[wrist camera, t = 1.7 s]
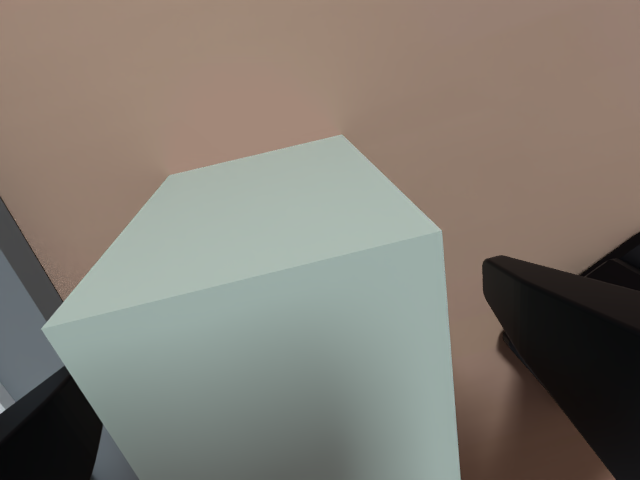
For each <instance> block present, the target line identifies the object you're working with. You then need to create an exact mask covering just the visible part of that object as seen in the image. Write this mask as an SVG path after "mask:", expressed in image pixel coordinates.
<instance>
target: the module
mask: <svg viewBox="0 0 640 480" xmlns="http://www.w3.org/2000/svg"><path fill="white" fill-rule="evenodd" d="M41 330H42V331H43V333H44V334H45V336H46V337H47V339H48V340H49V342H50V343H51V345H52V347H53V348H54V350H55V351H56V353H57V354H58V356H59V357H60V359H61V360H62V362H63V363H64V365H65V366H66V368H67V370H68V371H69V373H70V374H71V376H72V377H73V379H74V380H75V382H76V383H77V385H78V386H79V388H80V389H81V391H82V392H83V394H84V396H85V397H86V399H87V400H88V402H89V403H90V405H91V406H92V408H93V409H94V411H95V412H96V414H97V415H98V417H99V419H100V420H101V422H102V423H103V425H104V426H105V428H106V429H107V431H108V432H109V434H110V435H111V437H112V438H113V440H114V441H115V443H116V445H117V446H118V448H119V449H120V451H121V452H122V454H123V455H124V457H125V458H126V460H127V461H128V463H129V464H130V466H131V468H132V469H133V471H134V472H135V474H136V475H137V477H138V478H139V480H461V477H460V464H459V451H458V437H457V424H456V411H455V398H454V385H453V371H452V358H451V345H450V332H449V319H448V305H447V292H446V279H445V266H444V253H443V239H442V230H441V229H440V228H438V227H437V226H436V225H435V224H434V223H433V222H432V221H431V220H430V219H429V218H428V217H427V216H426V215H425V214H424V213H423V212H422V211H421V210H420V209H419V208H418V207H417V206H416V205H415V204H414V203H413V202H412V201H410V200H409V199H408V198H407V197H406V196H405V195H404V194H403V193H402V192H401V191H400V190H399V189H398V188H397V187H396V186H395V185H394V184H393V183H392V182H391V181H390V180H389V179H388V178H387V177H386V176H385V175H384V174H382V173H381V172H380V171H379V170H378V169H377V168H376V167H375V166H374V165H373V164H372V163H371V162H370V161H369V160H368V159H367V158H366V157H365V156H364V155H363V154H362V153H361V152H360V151H359V150H358V149H357V148H356V147H354V146H353V145H352V144H351V143H350V142H349V141H348V140H347V139H346V138H345V137H344V136H343V135H338V136H334V137H329V138H325V139H321V140H317V141H313V142H308V143H304V144H300V145H296V146H291V147H287V148H283V149H279V150H274V151H270V152H266V153H262V154H258V155H253V156H249V157H245V158H241V159H236V160H232V161H228V162H224V163H219V164H215V165H211V166H207V167H203V168H198V169H194V170H190V171H186V172H181V173H177V174H173V175H169V176H168V177H167V179H166V180H165V181H164V182H163V183H162V185H161V186H160V187H159V188H158V189H157V191H156V192H155V193H154V194H153V195H152V197H151V198H150V199H149V200H148V201H147V203H146V204H145V205H144V206H143V207H142V209H141V210H140V211H139V212H138V213H137V215H136V216H135V217H134V218H133V219H132V221H131V222H130V223H129V224H128V225H127V227H126V228H125V229H124V230H123V231H122V233H121V234H120V235H119V236H118V237H117V239H116V240H115V241H114V242H113V243H112V245H111V246H110V247H109V248H108V249H107V251H106V252H105V253H104V254H103V255H102V257H101V258H100V259H99V260H98V261H97V263H96V264H95V265H94V266H93V267H92V268H91V270H90V271H89V272H88V273H87V274H86V276H85V277H84V278H83V279H82V280H81V282H80V283H79V284H78V285H77V286H76V288H75V289H74V290H73V291H72V292H71V294H70V295H69V296H68V297H67V298H66V300H65V301H64V302H63V303H62V304H61V306H60V307H59V308H58V309H57V310H56V312H55V313H54V314H53V315H52V316H51V318H50V319H49V320H48V321H47V322H46V324H45V325H44V326H43V327H42V328H41Z"/></svg>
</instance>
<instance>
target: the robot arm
mask: <svg viewBox="0 0 640 480" xmlns="http://www.w3.org/2000/svg"><path fill="white" fill-rule="evenodd" d="M482 274H483V293H484V296H485V299H486V301H487V302H488V304H489V306H490V307H491V309H492V311H493V312H494V314H495V315H496V317H497V319H498V320H499V322H500V324H501V325H502V327H503V329H504V330H505V332H504V334H503V340H504V342H505V343H506V344H507V345H508V346H509V348H510V349H511V350H512V351H513V352H514V353H515V354H516V356H517V357H518V358H519V359H520V360H521V361H522V362H523V364H524V365H525V366H526V367H527V368H528V369H529V370H530V371H531V373H532V374H533V375H534V376H535V377H536V378H537V379H538V381H539V382H540V383H541V384H542V385H543V386H544V387H545V388H546V390H547V391H548V392H549V393H550V395H551V396H552V397H553V399H554V400H555V401H556V403H557V404H558V405H559V406H560V408H561V409H562V410H563V412H564V413H565V414H566V415H567V417H568V418H569V419H570V421H571V422H572V423H573V425H574V426H575V427H576V428H577V430H578V431H579V432H580V434H581V435H582V436H583V437H584V439H585V440H586V441H587V443H588V444H589V445H590V447H591V448H592V449H593V450H594V452H595V453H596V454H597V456H598V457H599V458H600V459H601V461H602V462H603V463H604V465H605V466H606V467H607V469H608V470H609V471H610V472H611V474H612V475H613V476H614V478H615V479H616V480H640V232H639V233H638V234H636V235H635V236H634V237H632V238H631V239H629V240H628V241H627V242H625V243H624V244H623V245H621V246H620V247H618V248H617V249H616V250H614V251H613V252H611V253H610V254H609V255H607V256H606V257H605V258H603V259H602V260H600V261H599V262H598V263H596V264H595V265H593V266H592V267H591V268H589V269H588V270H587V271H585V272H584V273H582V274H581V275H580V276H579V275H575V274H572V273H568V272H564V271H560V270H556V269H553V268H549V267H545V266H541V265H537V264H534V263H530V262H526V261H522V260H518V259H515V258H511V257H507V256H503V255H500V256H495V257H491V258H487V259H485V260H484V261H483V265H482ZM102 429H103V423H102V422H101V420H100V419H99V417H98V415H97V414H96V412H95V411H94V409H93V408H92V406H91V405H90V403H89V402H88V400H87V399H86V397H85V396H84V394H83V392H82V391H81V389H80V388H79V386H78V385H77V383H76V382H75V380H74V379H73V377H72V376H71V374H70V373H69V371H68V370H67V368H66V366H63V367H62V368H61V369H59V370H58V371H57V372H55V373H54V374H53V375H51V376H50V377H49V378H47V379H46V380H45V381H43V382H42V383H41V384H39V385H38V386H37V387H35V388H34V389H33V390H31V391H30V392H29V393H27V394H26V395H25V396H23V397H22V398H21V399H19V400H18V401H17V402H15V403H14V404H13V405H11V406H10V407H9V408H7V409H6V410H5V411H3V412H2V413H1V414H0V480H90V479H91V476H92V472H93V469H94V465H95V462H96V457H97V453H98V449H99V444H100V439H101V434H102Z"/></svg>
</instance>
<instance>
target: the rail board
mask: <svg viewBox="0 0 640 480" xmlns="http://www.w3.org/2000/svg"><path fill="white" fill-rule="evenodd" d="M62 303H63V302H62V300H61V298H60V297H59V295H58V293H57V292H56V290H55V288H54V287H53V285H52V283H51V282H50V280H49V278H48V277H47V275H46V273H45V272H44V270H43V268H42V267H41V265H40V263H39V262H38V260H37V258H36V257H35V255H34V253H33V252H32V250H31V248H30V247H29V245H28V243H27V242H26V240H25V238H24V237H23V235H22V233H21V232H20V230H19V228H18V227H17V225H16V223H15V221H14V220H13V218H12V216H11V215H10V213H9V211H8V210H7V208H6V206H5V205H4V203H3V201H2V200H1V198H0V414H1V413H2V412H3V411H5V410H6V409H7V408H9V407H10V406H11V405H13V404H14V403H15V402H17V401H18V400H19V399H21V398H22V397H23V396H25V395H26V394H27V393H29V392H30V391H31V390H33V389H34V388H35V387H37V386H38V385H39V384H41V383H42V382H43V381H45V380H46V379H47V378H49V377H50V376H51V375H53V374H54V373H55V372H57V371H58V370H59V369H61V368H62V367H63V366H65V365H64V363H63V362H62V360H61V359H60V357H59V356H58V354H57V353H56V351H55V350H54V348H53V347H52V345H51V343H50V342H49V340H48V339H47V337H46V336H45V334H44V333H43V331H42V330H41V328H42V327H43V326H44V325H45V324H46V322H47V321H48V320H49V319H50V318H51V316H52V315H53V314H54V313H55V312H56V310H57V309H58V308H59V307H60V306H61V304H62ZM90 480H139V478H138V477H137V475H136V474H135V472H134V471H133V469H132V468H131V466H130V464H129V463H128V461H127V460H126V458H125V457H124V455H123V454H122V452H121V451H120V449H119V448H118V446H117V445H116V443H115V441H114V440H113V438H112V437H111V435H110V434H109V432H108V431H107V429H106V428H105V426H104V425H103V429H102V434H101V439H100V444H99V449H98V453H97V457H96V462H95V465H94V469H93V472H92V476H91V479H90Z"/></svg>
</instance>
